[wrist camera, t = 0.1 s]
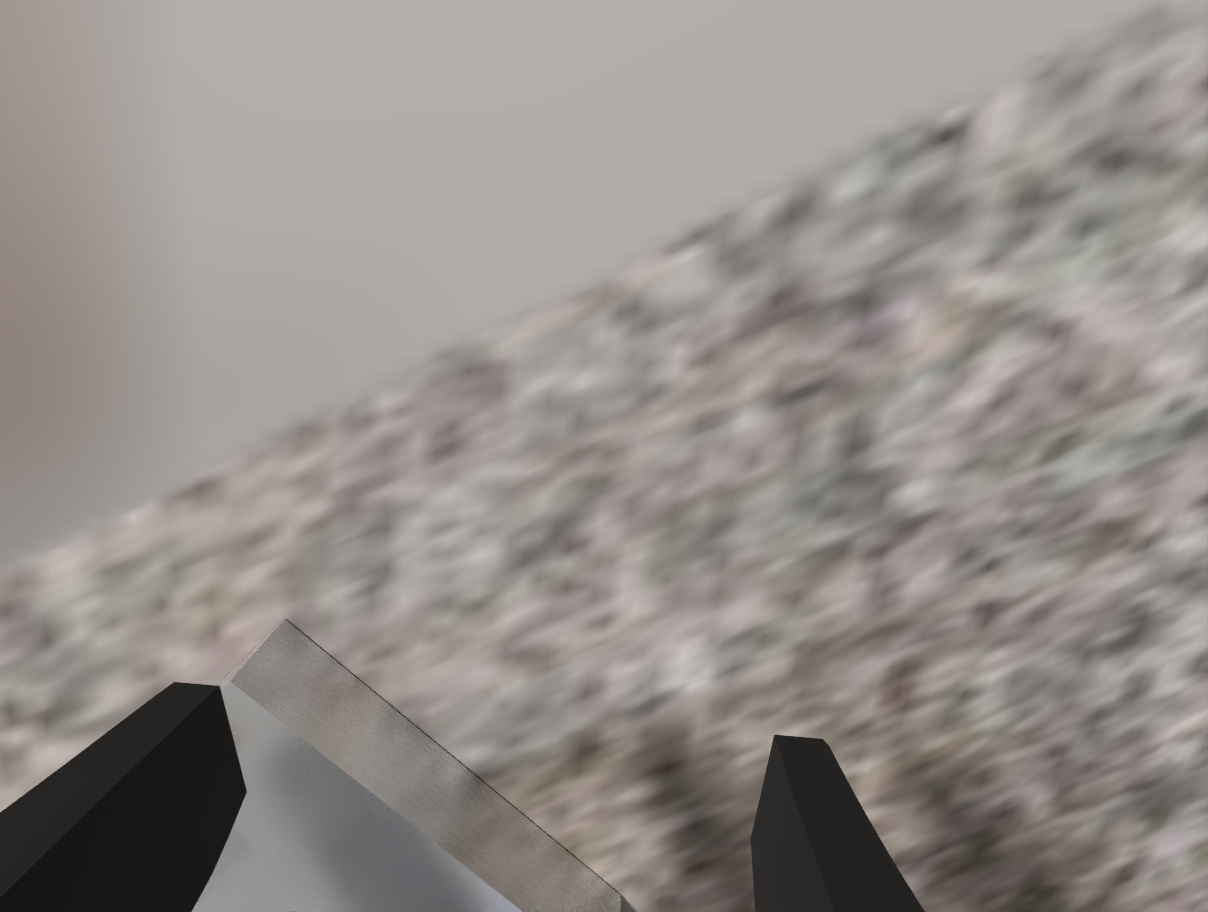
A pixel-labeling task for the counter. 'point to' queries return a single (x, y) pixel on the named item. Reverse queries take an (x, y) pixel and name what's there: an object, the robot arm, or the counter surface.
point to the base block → (369, 807)
